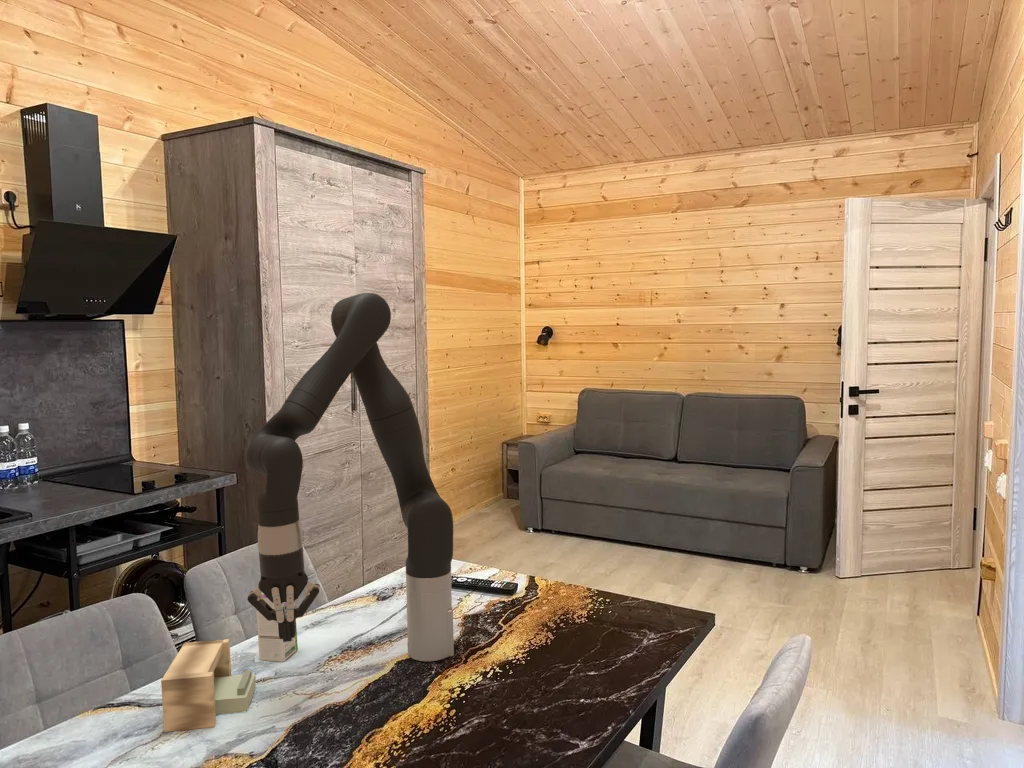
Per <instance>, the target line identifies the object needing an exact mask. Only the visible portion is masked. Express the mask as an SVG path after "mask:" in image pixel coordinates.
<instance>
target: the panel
mask: <svg viewBox="0 0 1024 768" xmlns="http://www.w3.org/2000/svg"><path fill="white" fill-rule="evenodd" d="M256 683H257V679H256V673H252V670H251V669H250V670H244V672H243V674H239V675H236V674H235V675H231V676H224V677H214V691H215V711H216V715H224V714H223V713H225V714H232V713H233V714H235V713H234V712H236V713H244V712H243V711H246V712H248V710H249V706H250V703H251V702H250V701H252V698H253V696H254V694H255V690H256V688H257V684H256ZM253 693H254V694H253ZM247 709H248V710H247Z"/></svg>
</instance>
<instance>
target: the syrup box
mask: <svg viewBox="0 0 1024 768" xmlns="http://www.w3.org/2000/svg"><path fill="white" fill-rule="evenodd" d="M262 594H263V593H262ZM262 599H263V600H264V601H265V602H266V603H267V604H268V605H269V606H270V607H271V608H272V609H273V610H274V611H275V608H274V603H273V602H271V601H270V600H269V599H268V598H267V597H266V596H265V595H264V594H263V598H262ZM255 609H256V608H255ZM284 609H285V616H286V618H287V602H284ZM255 611H256V624H257V625H256V626H257V643H258V657H259V660H261V661H269V662H279V663H284V662H286V660H287V659H288V658H290V657H291V656H292V655H294V653H295V652H297V651H298V649H299V648H298V632H297V628H296V634H295V637H294V638H292V641H289V642H288V641H287V642H283V639H280V638H279V630H278V623H277V621H275V620H271V621H268V620H267V619H266V618H265V617H264V616H263V615H262V614H261V613H260V612H259V611H258V610H257V609H256V610H255ZM295 625H296V626H297V618H296V619H295Z"/></svg>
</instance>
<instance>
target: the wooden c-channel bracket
mask: <svg viewBox="0 0 1024 768" xmlns="http://www.w3.org/2000/svg"><path fill="white" fill-rule="evenodd" d="M230 643H231V641H230V638H226V639H214V640H213V639H212V640H200V641H191V642H190V641H187V642H184V643H183V645H182V646H181V648H180V650H179V651H178V653H177V655H175V658H174V659H173V661H172V662H171V664H170V665H169V667H168V669H167V671H166V672H165V674H164V675H163V677H162V679H161V680H160V682H161V683H160V684H161V699H162V700H161V701H162V702H161V703H162V719H163V733H167V732H168V733H169V732H177V730H179V731H188V729H189V730H198V729H207V728H215V726H216V724H217V716H216V715H217V714H216V711H215V691H214V677H224V676H232V662H231V645H230Z"/></svg>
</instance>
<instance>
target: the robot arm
mask: <svg viewBox="0 0 1024 768" xmlns="http://www.w3.org/2000/svg"><path fill="white" fill-rule="evenodd" d="M391 319H392V312H391V308H390V306H389V303H388V301H386V299H385V298H383V297H382V296H381V295H379V294H377V293H373V292H363V293H358V294H355V295H351V296H349V297H348V296H347V297H346V298H342V299H341V300H339V301H338V302H336V304H335V305H334V306H333V308H332V309H331V315H330V322H331V327H332V331H333V333H334V335H335V340H334V341H333V343H332V344H331V345H330V346H329V348H328V349H327V350H326V351H325V352H324V353H323V355H322V356H321V357H319V359H318V360H317V361H316V362H315V363H314V364H313V365H312V366H311V367H310V368H309V369H308V370H307V371H306V372H305V374H303V375H302V377H301V378H300V379H299V380H298V382H297V383H296V384H295V385H294V387H293V389H292V390H291V391H290V393H289V394H288V396H287V398H286V400H285V401H284V402H283V404H282V406H281V408H280V409H279V410H278V411H277V412H276V413H275V414H273V415H272V416H271V417H270V419H269V420H267V422H265V423H264V425H263V426H261V427H260V429H259V430H258V431H257V432H256V433H254V435H253V437H252V439H250V441H249V444H248V446H247V449H246V452H245V453H246V454H245V460H246V463H247V466H248V467H249V468H250V469H251V470H252V471H254V472H256V473H258V474H261V475H266V483H265V488H264V489H263V490H261V491H260V492H259V493H258V495H257V496H256V513H257V525H258V526H257V528H258V530H257V549H258V557H259V569H260V570H259V571H260V572H259V573H260V579H259V581H258V585H257V587H256V588H255V589H254V590H252V591H250V592H249V594H248V596H247V602H248V603H250V605H251V606H252V607H254V609H257V610H258V611H259V612H260V613H261V614H262V615H263V616H264V617H265V618H266V619H267V620H268V621H271V620H275V621H277V623H278V630H279V638H280V639H283V642H287V641H288V642H289V641H292V638H294V637H295V634H296V629H297V624H296V625H295V619H296V620H297V619H298V618H302V617H303V616H304V615H305V613H306V612H307V611H308V609H309V608H310V607H311V604H313V602H314V601H315V599H316V598H317V597H318V594H320V589H321V585H320V584H319V583H313V582H312V581H309V577H308V575H307V573H306V569H305V561H304V560H305V558H304V546H303V534H302V532H303V531H302V527H301V522H300V511H299V502H298V501H299V499H298V495H299V492H300V487H301V480H302V473H303V468H304V467H303V465H304V462H303V461H304V459H303V458H304V457H303V453H302V451H301V447H300V445H299V444H298V443H297V439H298V438H299V437H302V436H304V435H308V434H310V433H312V432H313V431H314V429H315V428H316V427H317V425H318V424H319V422H320V421H321V419H322V417H323V416H324V414H325V413H326V411H327V410H328V408H329V406H330V404H331V403H332V401H333V400H334V398H335V396H336V395H337V394H338V392H339V391H340V389H341V387H342V386H343V384H344V383H345V382H346V381H347V379H348V378H349V376H350V375H351V373H352V375H353V378H354V380H355V384H356V388H357V390H358V392H359V396H360V397H361V400H362V403H363V406H364V409H365V412H366V416H367V419H368V422H369V425H370V427H371V430H372V434H373V436H374V440H375V442H376V443H377V444H376V445H377V446H378V449H379V451H380V454H381V455H382V458H383V460H384V462H385V464H386V466H387V467H388V470H389V472H390V474H391V476H392V479H393V483H394V487H395V491H396V494H397V495H396V496H397V498H398V504H399V507H400V513H401V518H402V522H403V523H404V525H405V528H406V529H407V558H406V560H405V583H406V584H405V585H406V587H405V590H406V621H407V622H406V623H407V624H406V626H407V629H406V630H407V654H408V657H409V658H411V659H412V660H416V661H419V662H434V661H440V660H444V659H446V658H448V657H454V656H455V649H454V648H455V645H454V641H455V640H454V638H455V637H454V610H453V606H452V605H453V604H452V602H453V601H452V596H453V595H452V560H453V557H454V556H453V555H454V517H453V511H452V510H451V507H450V506H449V504H448V503H447V502H446V501H445V500H444V499H443V498H442V497H441V496H440V494H439V492H438V490H437V489H436V486H435V484H434V482H433V480H432V477H431V475H430V473H429V471H428V470H429V469H428V467H427V464H426V459H425V452H424V444H423V443H424V442H423V437H422V431H421V427H420V423H419V419H418V416H417V414H416V411H415V407H414V405H413V402H412V400H411V399H412V398H411V397H410V396H409V393H408V392H407V391H406V389H405V387H404V386H403V385H402V383H401V382H400V381H399V380H398V378H397V376H395V375H394V374H393V373H392V371H391V370H390V369H389V367H388V365H387V364H386V363H385V360H384V359H383V356H382V354H381V351H380V349H379V344H378V341H379V340H380V339H381V338H382V337H383V335H384V334H385V333H386V332H387V330H388V329H389V327H390V324H391V322H392V321H391ZM305 589H306V590H305ZM304 590H305V595H306V596H305V598H303V600H302V601H301V603H300V604H299V606H298V607H296V600H298V599H299V598H300V596H301V594H302V593H303V591H304ZM262 593H263V594H264V595H265V596H266V597H267V598H268V599H269V600H270V601H271V602H273V603H274V608H275V611H274V610H273V609H272V608H271V607H270V606H269V605H268V604H267V603H266V602H265V601H264V600H263V599H262V598H263V594H262ZM284 602H287V618H286V616H285V609H284Z"/></svg>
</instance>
